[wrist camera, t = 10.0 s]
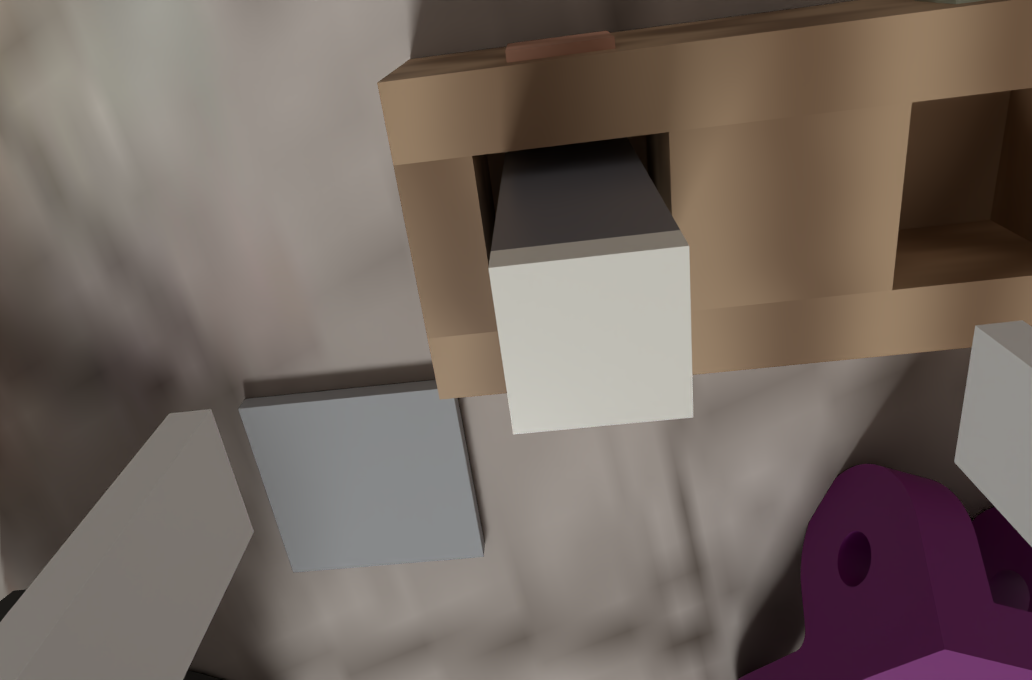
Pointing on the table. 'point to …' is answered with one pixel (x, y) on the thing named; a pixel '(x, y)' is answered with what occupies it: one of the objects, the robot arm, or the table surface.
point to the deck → (366, 475)
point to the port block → (750, 173)
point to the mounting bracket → (909, 587)
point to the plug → (589, 290)
